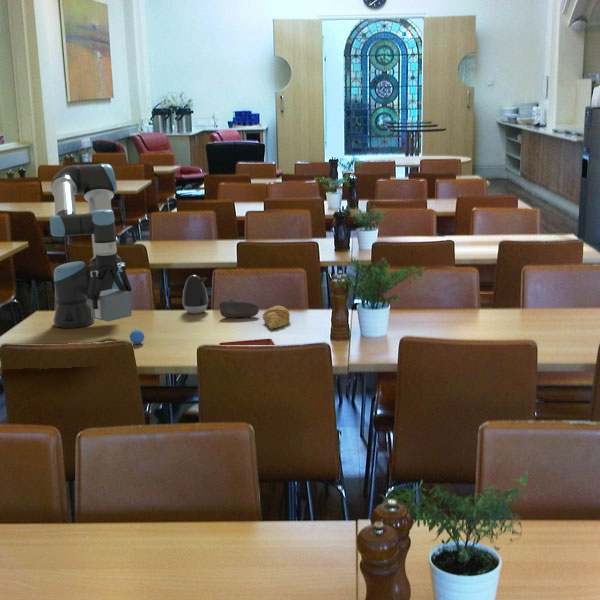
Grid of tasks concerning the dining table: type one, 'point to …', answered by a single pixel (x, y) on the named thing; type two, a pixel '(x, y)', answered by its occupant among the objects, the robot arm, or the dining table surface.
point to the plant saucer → (250, 342)
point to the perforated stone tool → (238, 308)
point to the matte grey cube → (113, 305)
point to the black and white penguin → (195, 295)
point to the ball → (137, 336)
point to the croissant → (276, 316)
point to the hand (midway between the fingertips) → (111, 314)
